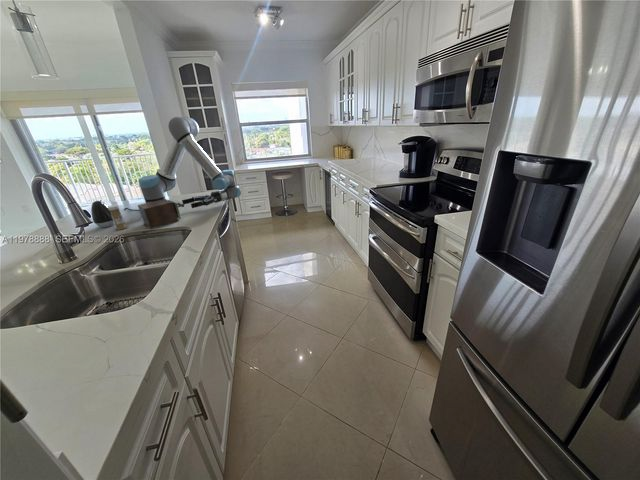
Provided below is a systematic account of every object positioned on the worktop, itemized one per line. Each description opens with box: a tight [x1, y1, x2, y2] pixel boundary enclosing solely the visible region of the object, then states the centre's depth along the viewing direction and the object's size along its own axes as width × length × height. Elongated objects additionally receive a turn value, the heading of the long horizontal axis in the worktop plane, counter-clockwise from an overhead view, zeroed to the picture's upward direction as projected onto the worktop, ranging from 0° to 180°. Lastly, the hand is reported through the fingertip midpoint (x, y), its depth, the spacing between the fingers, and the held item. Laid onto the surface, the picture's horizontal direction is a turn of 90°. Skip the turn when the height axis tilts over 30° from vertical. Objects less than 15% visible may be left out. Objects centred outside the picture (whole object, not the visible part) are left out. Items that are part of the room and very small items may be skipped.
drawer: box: [167, 199, 185, 220], centre depth 153 cm, size 18×11×10 cm, turn 137°
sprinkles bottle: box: [107, 204, 127, 231], centre depth 143 cm, size 5×5×13 cm
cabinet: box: [137, 198, 179, 229], centre depth 149 cm, size 15×13×12 cm
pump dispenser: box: [90, 199, 115, 228], centre depth 148 cm, size 10×10×15 cm
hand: (186, 204), depth 160 cm, fingers open, 13 cm apart
